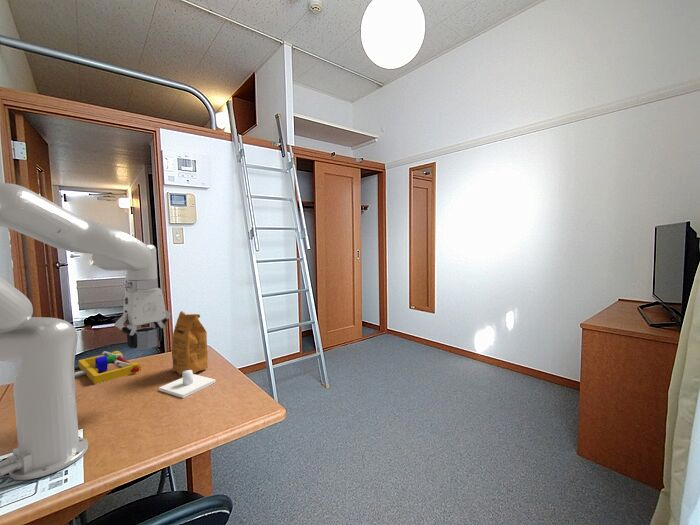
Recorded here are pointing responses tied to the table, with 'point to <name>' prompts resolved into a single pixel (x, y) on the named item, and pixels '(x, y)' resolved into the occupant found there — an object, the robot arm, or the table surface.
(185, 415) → the table surface
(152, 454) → the table surface
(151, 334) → the ring
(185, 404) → the table surface
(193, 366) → the coffee package
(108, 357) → the yellow toy tray
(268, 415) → the table surface
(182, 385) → the stand
